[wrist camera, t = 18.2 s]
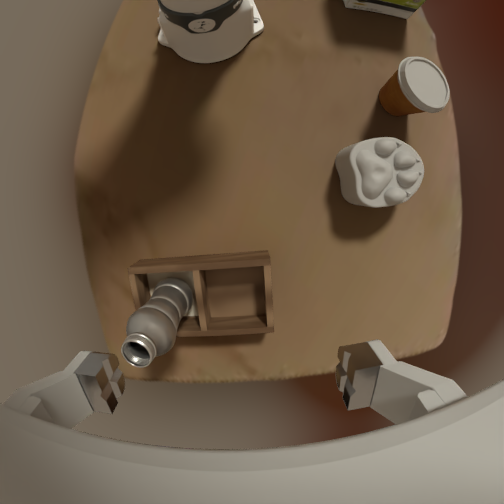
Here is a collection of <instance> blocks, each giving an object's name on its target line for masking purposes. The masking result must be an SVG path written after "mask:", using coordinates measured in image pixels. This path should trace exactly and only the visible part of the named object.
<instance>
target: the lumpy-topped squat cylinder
mask: <svg viewBox="0 0 504 504" xmlns="http://www.w3.org/2000/svg"><path fill="white" fill-rule="evenodd" d="M335 165H336V169H337V171H338V174H339V177H340V185H341V193H342V196H343V197H344V199H345V200H346V201H348V202H349V203H351V204H355V205H361V206H367V207H373V208H378V207H388V206H393V205H397V204H400V203H403V202H405V201H407V200H408V199H409V198H410V197H411V196H412V195H413V194H414V193H415V192H416V191H417V190H418V188H419V186H420V184H421V182H422V179H423V176H424V166H423V162H422V160H421V158H420V156H419V155H418V154H417V152H416V151H415V150H414V149H413V148H412V147H411V146H410V145H408V144H406V143H405V142H403V141H401V140H399V139H396V138H392V137H380V138H373V139H368V140H364V141H361V142H358V143H356V144H353V145H351V146H348V147H346V148H344V149H342V150H341V151H340V152H339V153H338V154H337V156H336V159H335Z"/></svg>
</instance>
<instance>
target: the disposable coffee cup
mask: <svg viewBox="0 0 504 504" xmlns="http://www.w3.org/2000/svg"><path fill="white" fill-rule="evenodd" d="M379 100H380V103H381V105H382V107H383V108H384V109H385V110H386V111H387V112H388V113H390V114H391V115H394V116H402V115H408V114H414V113H421V112H430V113H435V112H439V111H441V110H442V109H443V108H444V107H445V105H446V104H447V102H448V100H449V86H448V83H447V80H446V78H445V76H444V75H443V73H442V72H441V70H440V69H439V68H438V67H437V66H436V65H435V64H434V63H433V62H431V61H429V60H428V59H426V58H423V57H408V58H405V59H404V60H403V61H402V62H401V63H400V65H399V68H398V70H397V71H396V72H395V73H394V74H393V76H392V77H391V78H390V79H389V80H388V81H387V83H386V84H385V85H384V86H383V87H382V88H381V90H380V92H379Z"/></svg>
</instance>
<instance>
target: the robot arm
mask: <svg viewBox="0 0 504 504" xmlns="http://www.w3.org/2000/svg"><path fill="white" fill-rule="evenodd" d="M158 4H159V8H160V9H159V14H160V17H158V23H159V25H160V28H161V29H160V33H159V36H158V41H159V43H160V44H162V45H164V46H167V47H170V48H172V49H173V50H174V51H175V52H176V53H177V54H178V55H179V56H181V57H182V58H184V59H186V60H189V61H192V62H196V63H213V62H218V61H222V60H225V59H227V58H230V57H232V56H233V55H235V54H237V53H238V52H239V51H241V50H242V49H243V48H244V47H245V45H246V44H247V43H248V42H249V40H250V39H251V38H252V37H254V36H256V35H258V34H260V33H261V32H262V31H263V30H264V24H263V22H262V19H261V17H260V15H259V12H258V10H257V8H256V5H255V3H254V1H253V0H158ZM254 22H257V23H254ZM338 358H339V361H340V362H339V364H338V365H337V366H336V382H337V386H338V388H339V390H340V391H342V392H343V400H344V403H345V405H346V407H347V410H353V409H358V408H363V407H368V406H370V407H371V408H372V409H374V410H375V411H377V412H378V413H380V414H381V415H383V416H384V417H386V418H387V419H389V420H390V421H392V422H393V423H395V424H396V425H393V426H389V427H386V428H382V429H379V430H375V431H371V432H367V433H363V434H358V435H354V436H350V437H345V438H340V439H334V440H329V441H323V442H317V443H310V444H302V445H294V446H285V447H274V448H260V449H259V448H258V449H225V450H224V449H190V448H176V447H165V446H155V445H148V444H141V443H134V442H128V441H122V440H116V439H112V438H106V437H102V436H98V435H93V434H89V433H85V432H81V431H77V430H73V429H72V428H73V427H74V426H76V425H77V424H78V423H80V422H81V421H83V420H84V419H85V418H87V417H88V416H89V415H91V414H92V413H93V411H94V412H101V413H107V414H113V412H114V410H115V408H116V406H117V404H118V402H117V398H119V397H120V396H122V394H123V392H124V389H125V379H124V375H123V373H122V372H121V371H120V370H119V369H118V366H119V361H118V358H117V356H116V355H114V354H110V353H100V352H92V351H80V352H79V353H78V354H77V355H76V357H75V358H74V359H73V360H72V361H71V362H70V363H69V365H68V366H67V367H66V368H65V369H64V370H63V372H62V371H59V372H56V373H54V374H52V375H49V376H47V377H45V378H42V379H40V380H38V381H35V382H33V383H31V384H28V385H26V386H24V387H21V388H19V389H16V390H15V391H14V392H13V394H12V395H11V396H10V397H9V398H8V399H7V400H6V401H5V402H4V404H2V403H0V504H504V379H502V380H501V381H499V382H497V383H495V384H493V385H491V386H489V387H488V388H485V389H484V390H482V391H480V392H478V393H475V394H474V395H471V396H469V397H468V396H467V395H466V394H465V393H464V392H463V391H462V389H461V388H460V387H459V386H458V385H457V384H456V383H455V382H454V381H453V380H451V379H448V378H445V377H443V376H440V375H437V374H434V373H431V372H429V371H426V370H423V369H420V368H418V367H415V366H412V365H410V364H407V363H404V362H401V361H400V362H397V361H396V360H395V358H394V357H393V356H392V355H391V353H390V352H389V351H388V350H387V348H386V347H385V346H384V345H383V343H382V342H381V341H380V340H378V339H377V340H372V341H367V342H363V343H358V344H352V345H346V346H340V347H339V349H338Z"/></svg>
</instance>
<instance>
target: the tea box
mask: <svg viewBox="0 0 504 504" xmlns="http://www.w3.org/2000/svg"><path fill="white" fill-rule="evenodd" d="M343 1H344V4H345V7H346V8H354V9H361V10H367V11H373V12H378V13H383V14H388V15H392V16H397V17H401V18H405V19H408V18H409V17H410V16H411V15H412V14H413V13H414V12H415V11H416V10H417V9H418V8H419V7H420V6H421V5H422V4H423V3H424V2H425V1H426V0H343Z"/></svg>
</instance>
